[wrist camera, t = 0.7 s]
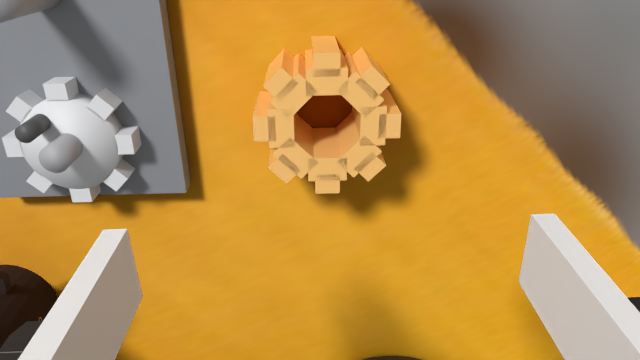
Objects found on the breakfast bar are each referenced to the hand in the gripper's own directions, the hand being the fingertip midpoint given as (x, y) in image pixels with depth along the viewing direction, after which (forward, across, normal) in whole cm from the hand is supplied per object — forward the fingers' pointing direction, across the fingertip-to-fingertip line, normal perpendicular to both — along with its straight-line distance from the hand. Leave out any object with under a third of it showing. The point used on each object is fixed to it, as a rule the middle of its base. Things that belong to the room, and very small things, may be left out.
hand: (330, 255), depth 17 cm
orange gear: (+17, 0, 0) cm, 17 cm away
